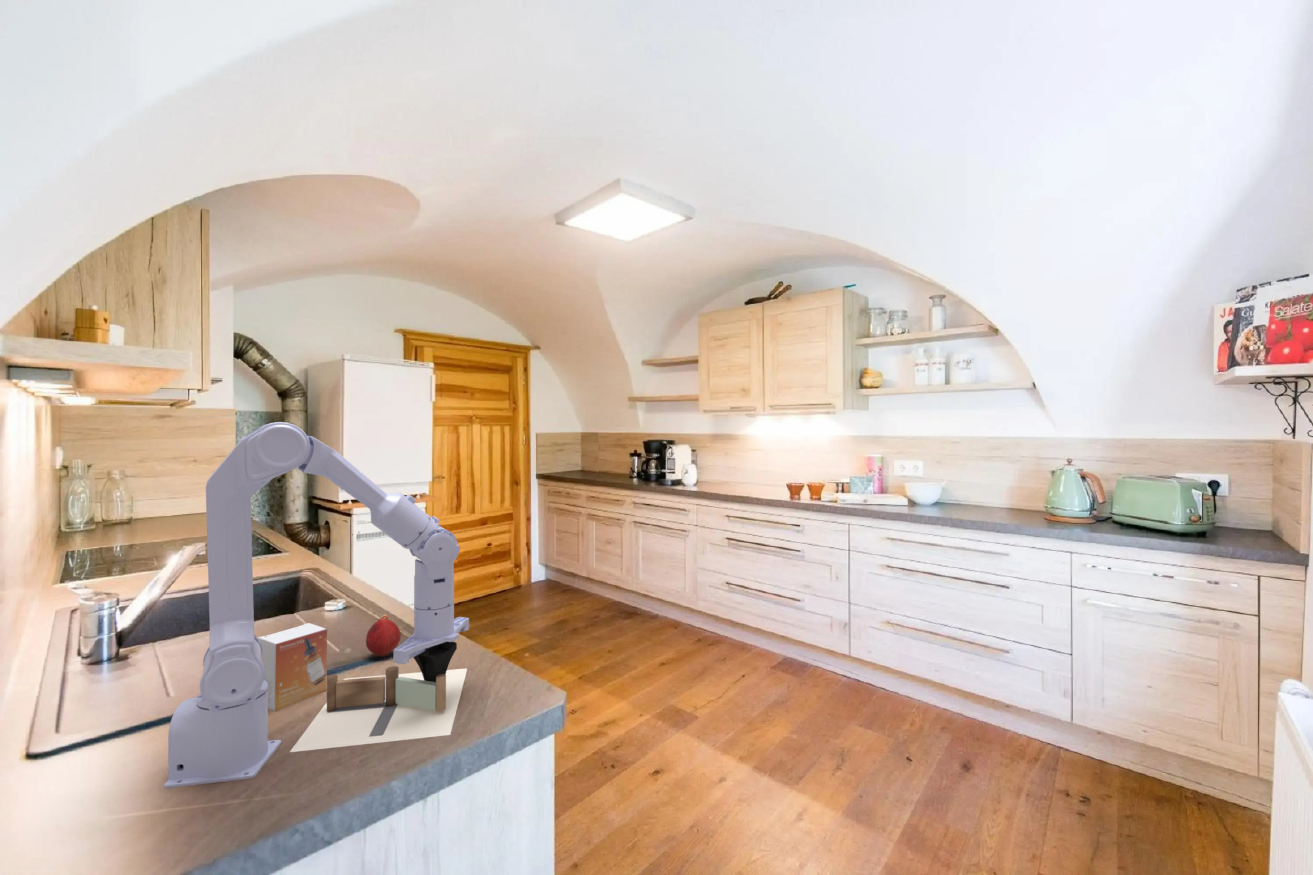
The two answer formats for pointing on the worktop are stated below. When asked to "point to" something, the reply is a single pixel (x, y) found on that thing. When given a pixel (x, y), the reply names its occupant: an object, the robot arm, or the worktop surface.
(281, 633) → the small box
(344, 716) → the card
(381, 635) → the onion
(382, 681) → the fixed fence
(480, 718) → the worktop surface
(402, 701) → the panel
